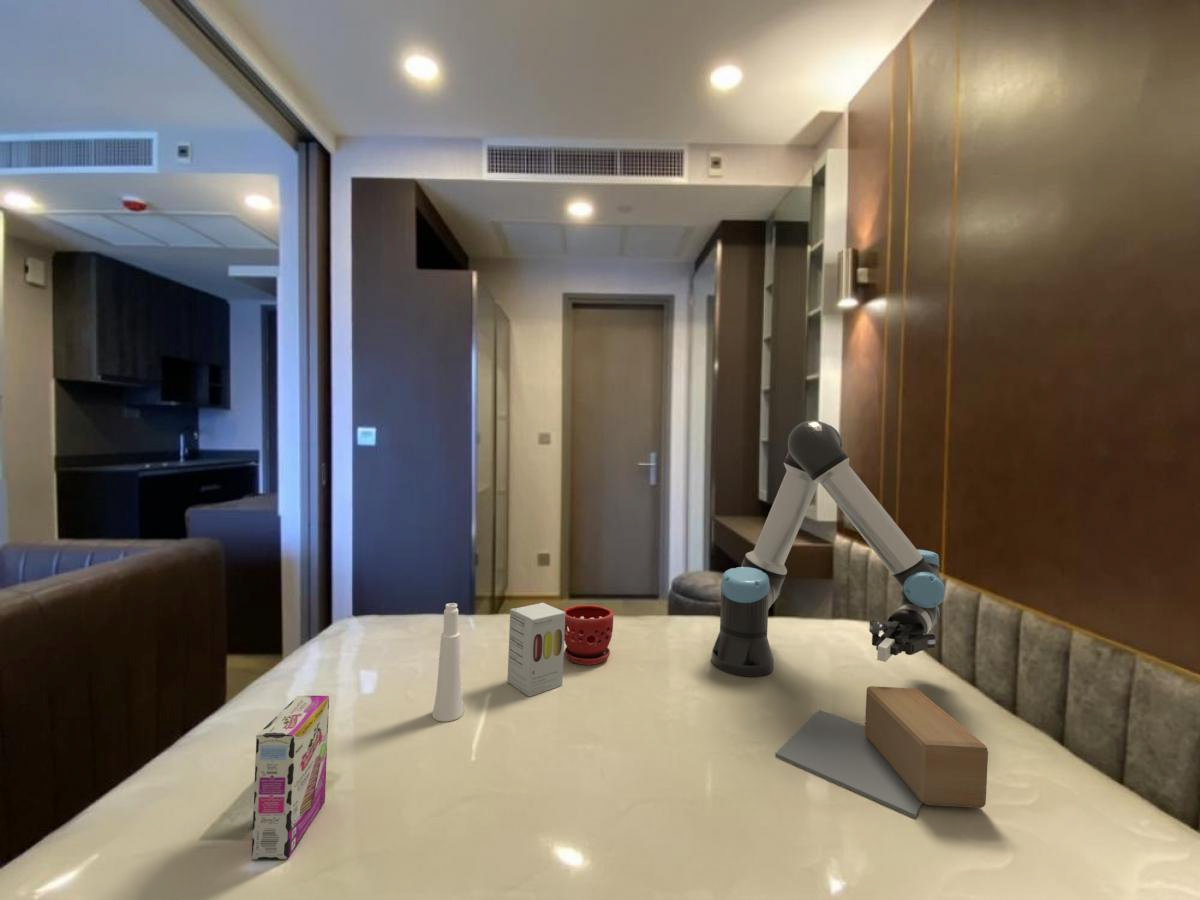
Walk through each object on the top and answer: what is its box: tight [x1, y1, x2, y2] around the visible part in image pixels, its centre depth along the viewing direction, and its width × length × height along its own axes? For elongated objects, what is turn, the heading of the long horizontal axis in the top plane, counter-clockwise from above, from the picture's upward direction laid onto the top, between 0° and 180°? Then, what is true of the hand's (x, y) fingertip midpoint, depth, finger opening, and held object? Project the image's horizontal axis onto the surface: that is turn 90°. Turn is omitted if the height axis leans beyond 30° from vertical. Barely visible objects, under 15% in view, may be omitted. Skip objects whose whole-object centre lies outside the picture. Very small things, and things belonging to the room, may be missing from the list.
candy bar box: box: [250, 695, 330, 861], centre depth 73 cm, size 11×5×16 cm, turn 5°
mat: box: [774, 709, 923, 819], centre depth 95 cm, size 22×22×1 cm
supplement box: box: [506, 602, 565, 698], centre depth 119 cm, size 10×9×17 cm
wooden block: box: [864, 685, 989, 809], centre depth 91 cm, size 10×10×20 cm
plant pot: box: [562, 604, 614, 666], centre depth 135 cm, size 13×13×12 cm
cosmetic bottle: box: [432, 602, 465, 723], centre depth 105 cm, size 6×6×22 cm
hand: (881, 654), depth 102 cm, fingers closed
